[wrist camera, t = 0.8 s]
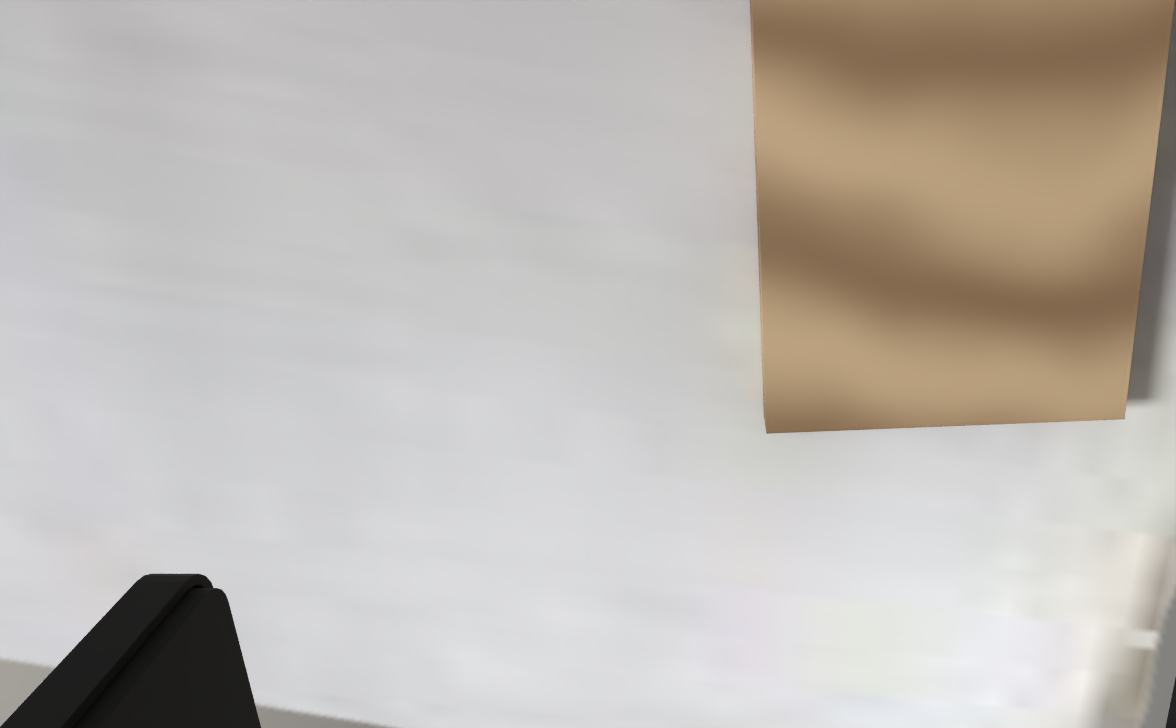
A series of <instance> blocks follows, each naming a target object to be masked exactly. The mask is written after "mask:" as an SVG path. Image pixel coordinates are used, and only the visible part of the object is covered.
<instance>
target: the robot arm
mask: <svg viewBox="0 0 1176 728" xmlns="http://www.w3.org/2000/svg"><path fill="white" fill-rule="evenodd" d="M0 728H261V726H260V722H259V718H258V714H257V710H256V706H255V703H254V699H253V695H252V691H251V687H250V683H249V679H248V676H247V672H246V668H245V664H244V660H243V656H242V652H241V649H240V645H239V641H238V637H237V633H236V629H235V625H234V622H233V618H232V614H231V610H230V606H229V602H228V599H227V597H226V594H225V593H224V592H223V591H222V590H221V589H218V588H213V586H212V583H211V582H210V580H209V579H208V578H207V577H206V576H204V575H201V574H149V575H145V576H143V577H142V578H140V579H139V580H138V581H137V582H136V583H135V584H134V585H133V586H132V587H131V588H130V589H129V590H128V591H127V592H126V593H125V594H124V595H123V596H122V598H121V599H120V600H119V601H118V602H117V603H116V604H115V605H114V606H113V607H112V608H111V609H110V610H109V611H108V612H107V614H106V615H105V616H104V617H103V618H102V619H101V620H100V621H99V622H98V623H97V624H96V625H95V626H94V627H93V628H92V630H91V631H90V632H89V633H88V634H87V635H86V636H85V637H84V638H83V639H82V640H81V641H80V642H79V643H78V644H77V646H76V647H75V648H74V649H73V650H72V651H71V652H70V653H69V654H68V655H67V656H66V657H65V658H64V659H63V661H62V662H61V663H60V664H59V665H58V666H57V667H56V668H55V669H54V670H53V671H52V672H51V673H50V674H49V675H48V677H47V678H46V679H45V680H44V681H43V682H42V683H41V684H40V685H39V686H38V687H37V688H36V689H35V691H33V693H32V694H31V695H30V696H29V697H28V698H27V699H26V700H25V701H24V702H23V703H22V704H21V705H20V706H19V707H18V709H17V710H16V711H15V712H14V713H13V714H12V715H11V716H10V717H9V718H8V719H7V720H6V721H5V722H4V723H3V725H2V726H1V727H0ZM1166 728H1176V679H1175V684H1174V689H1173V694H1172V699H1171V703H1170V709H1169V713H1168V718H1167V723H1166Z"/></svg>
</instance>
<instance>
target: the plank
mask: <svg viewBox="0 0 1176 728" xmlns="http://www.w3.org/2000/svg"><path fill="white" fill-rule="evenodd" d="M1174 4H1175V0H750V14H751V43H752V73H753V103H754V133H755V163H756V193H757V222H758V252H759V282H760V312H761V342H762V371H763V401H764V419H765V426H766V433H790V432H815V431H840V430H865V429H890V428H915V427H941V426H966V425H991V424H1016V423H1041V422H1066V421H1091V420H1116V419H1125V411H1126V402H1127V394H1128V386H1129V377H1130V369H1131V361H1132V353H1133V344H1134V336H1135V328H1136V319H1137V311H1138V303H1139V294H1140V286H1141V278H1142V269H1143V261H1144V253H1145V245H1146V236H1147V228H1148V220H1149V211H1150V203H1151V195H1152V186H1153V178H1154V170H1155V162H1156V153H1157V145H1158V137H1159V128H1160V120H1161V112H1162V103H1163V95H1164V87H1165V78H1166V70H1167V62H1168V54H1169V45H1170V37H1171V29H1172V20H1173V12H1174Z"/></svg>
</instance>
